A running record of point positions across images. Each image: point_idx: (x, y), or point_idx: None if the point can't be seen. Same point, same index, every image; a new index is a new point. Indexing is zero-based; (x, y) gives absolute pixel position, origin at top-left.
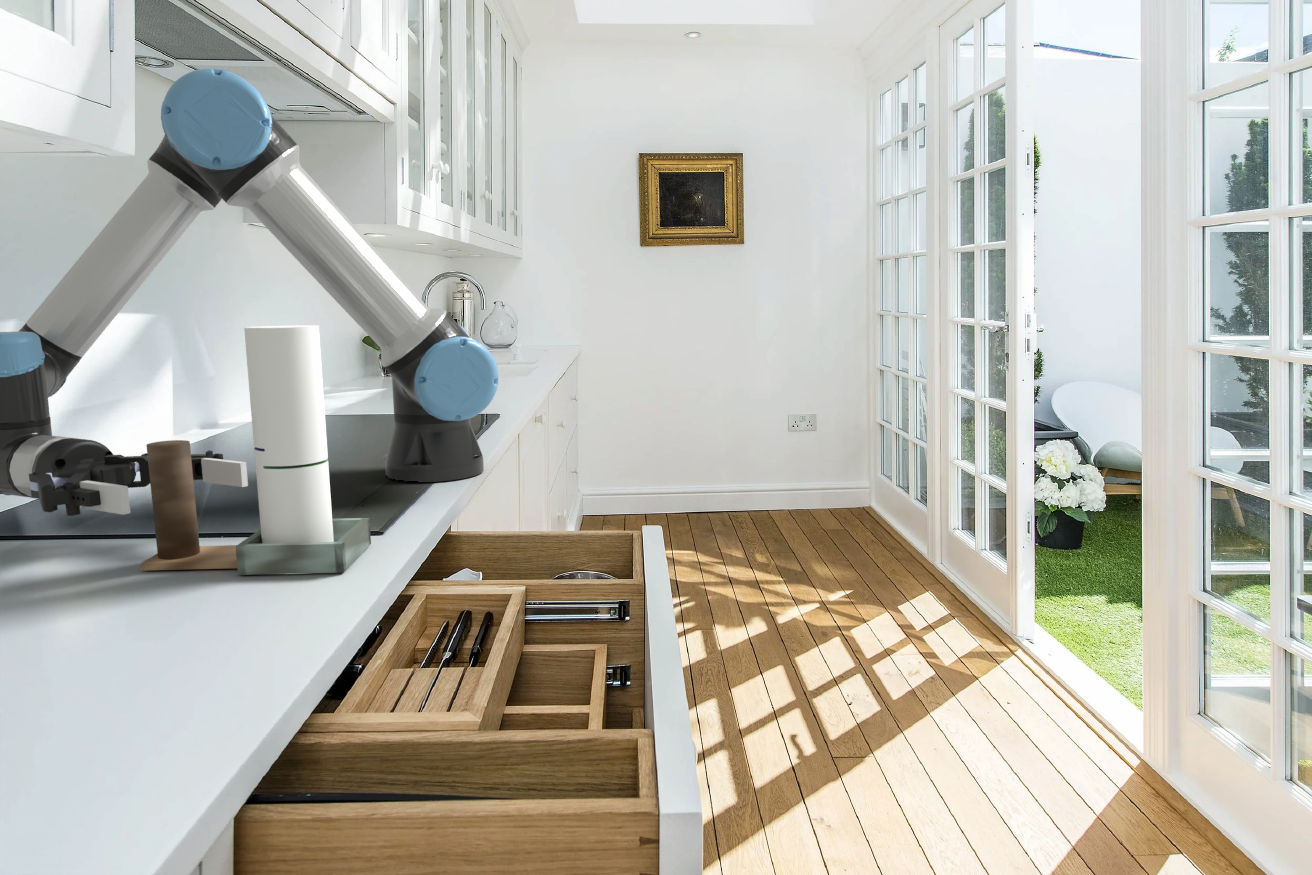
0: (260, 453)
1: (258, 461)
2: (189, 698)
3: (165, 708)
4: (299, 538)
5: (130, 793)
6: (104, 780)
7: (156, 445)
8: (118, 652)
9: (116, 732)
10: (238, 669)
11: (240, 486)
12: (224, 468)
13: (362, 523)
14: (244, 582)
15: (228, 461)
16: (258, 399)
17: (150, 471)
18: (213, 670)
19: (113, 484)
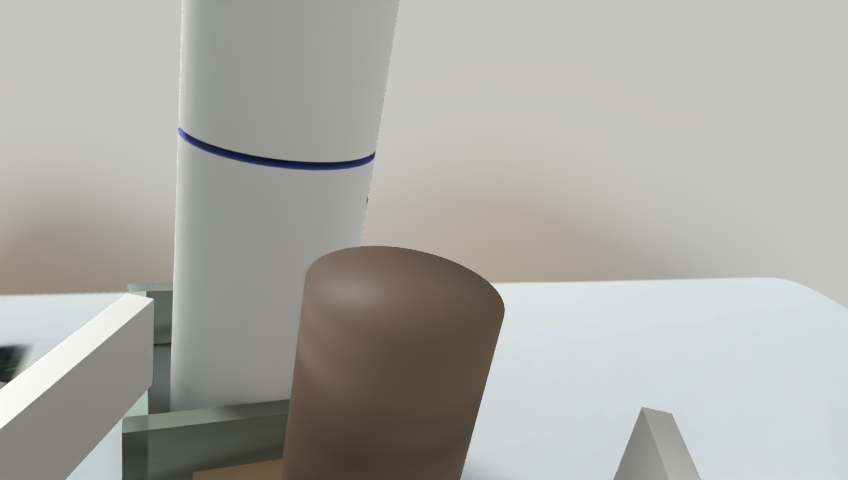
0: (368, 168)
1: (358, 194)
2: (709, 326)
3: (734, 332)
4: None
5: (789, 304)
6: (802, 319)
7: (473, 301)
8: (733, 429)
9: (781, 340)
10: (647, 319)
11: (148, 387)
12: (91, 383)
13: None
14: None
15: (91, 341)
16: (396, 9)
17: (471, 432)
18: (666, 333)
19: (668, 465)
